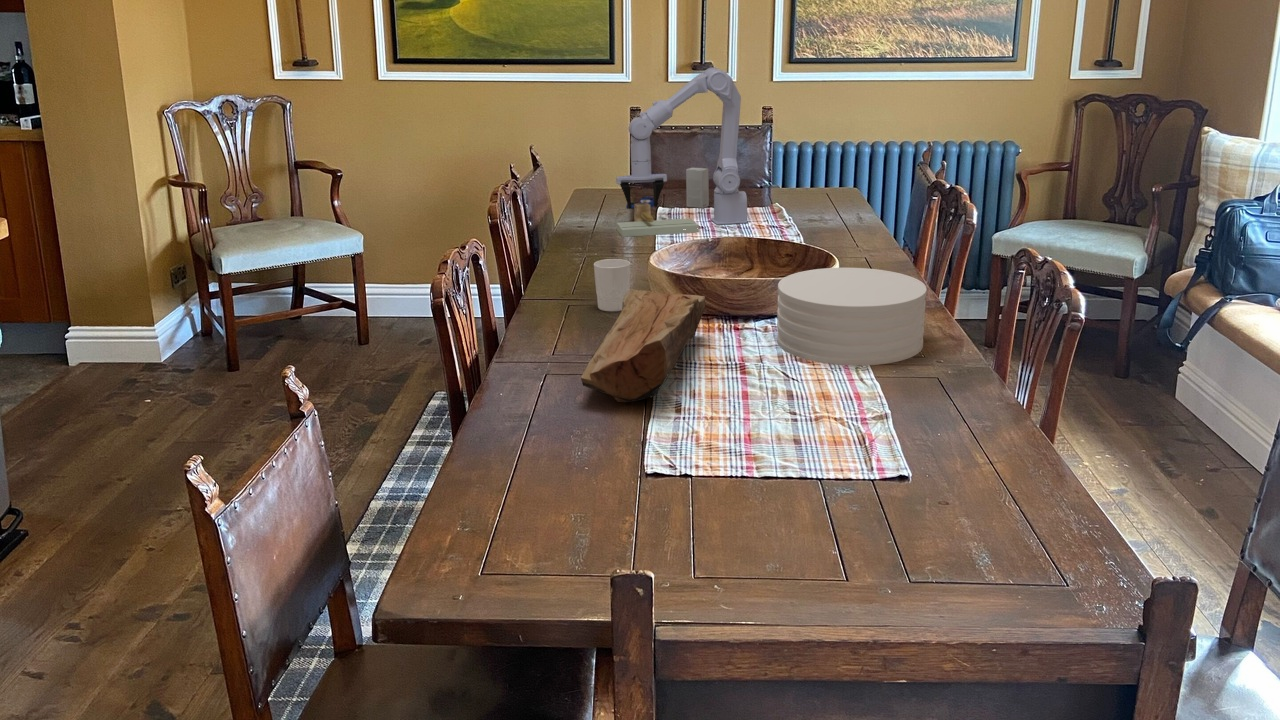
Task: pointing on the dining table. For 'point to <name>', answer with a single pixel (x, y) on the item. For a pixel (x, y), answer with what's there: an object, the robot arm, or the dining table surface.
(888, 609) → the dining table surface
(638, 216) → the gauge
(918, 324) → the plate stack
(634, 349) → the log
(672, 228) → the board
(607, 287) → the white cup
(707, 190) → the skincare box
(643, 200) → the bar clamp
